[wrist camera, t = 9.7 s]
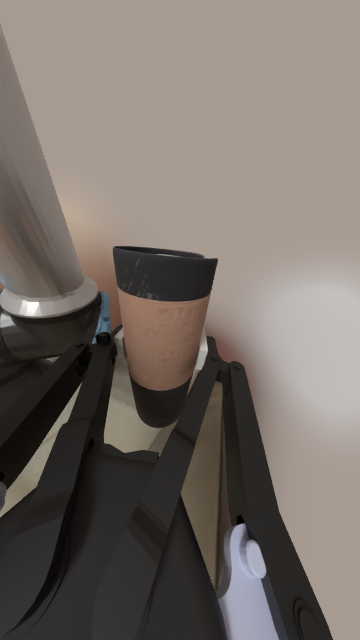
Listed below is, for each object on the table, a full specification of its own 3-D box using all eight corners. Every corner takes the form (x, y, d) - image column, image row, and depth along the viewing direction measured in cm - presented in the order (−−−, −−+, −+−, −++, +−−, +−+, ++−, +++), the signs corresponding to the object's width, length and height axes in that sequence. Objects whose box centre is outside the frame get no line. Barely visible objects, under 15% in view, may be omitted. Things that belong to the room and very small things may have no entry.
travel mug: (122, 407, 18) (83, 243, 8) (157, 370, 24) (159, 247, 14) (166, 446, 15) (189, 261, 5) (194, 393, 21) (230, 257, 11)
